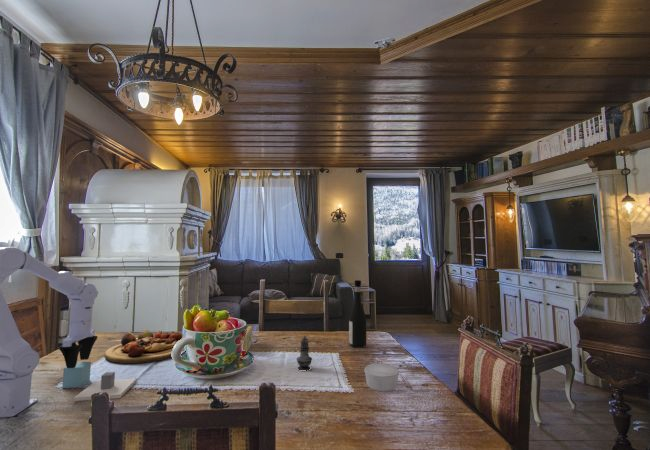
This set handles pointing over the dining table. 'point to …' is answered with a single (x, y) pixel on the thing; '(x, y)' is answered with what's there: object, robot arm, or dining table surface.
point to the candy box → (248, 339)
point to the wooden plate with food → (143, 347)
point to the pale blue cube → (76, 375)
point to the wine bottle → (357, 320)
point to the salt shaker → (304, 356)
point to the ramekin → (381, 377)
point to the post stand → (106, 387)
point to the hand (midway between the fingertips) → (78, 363)
